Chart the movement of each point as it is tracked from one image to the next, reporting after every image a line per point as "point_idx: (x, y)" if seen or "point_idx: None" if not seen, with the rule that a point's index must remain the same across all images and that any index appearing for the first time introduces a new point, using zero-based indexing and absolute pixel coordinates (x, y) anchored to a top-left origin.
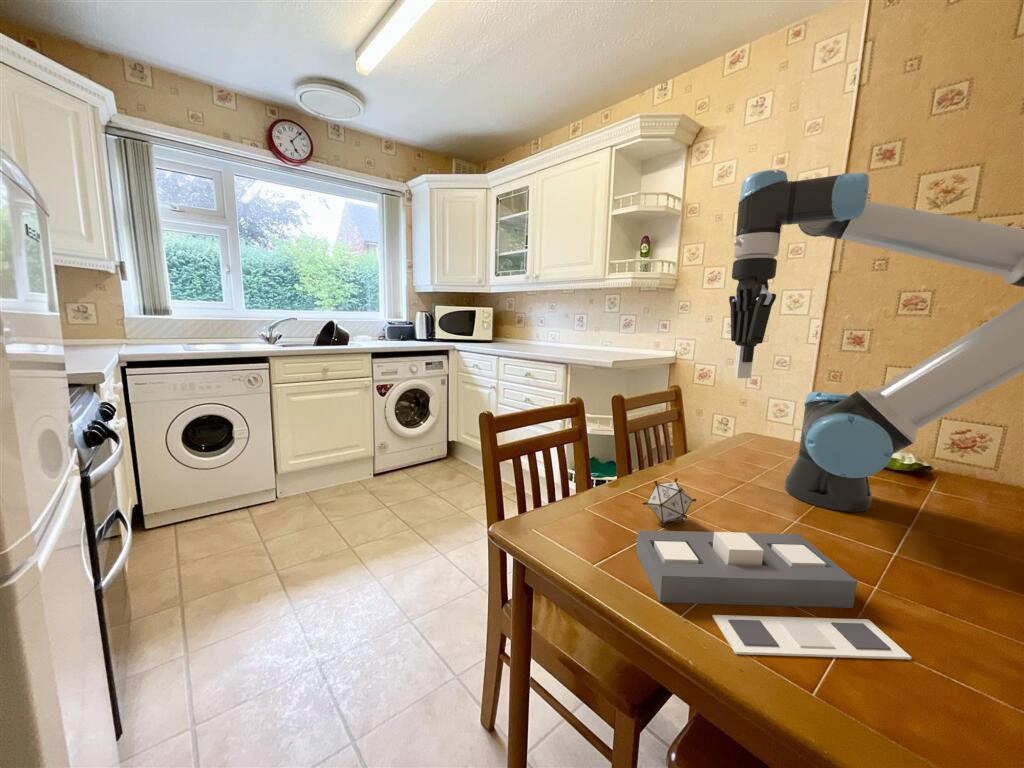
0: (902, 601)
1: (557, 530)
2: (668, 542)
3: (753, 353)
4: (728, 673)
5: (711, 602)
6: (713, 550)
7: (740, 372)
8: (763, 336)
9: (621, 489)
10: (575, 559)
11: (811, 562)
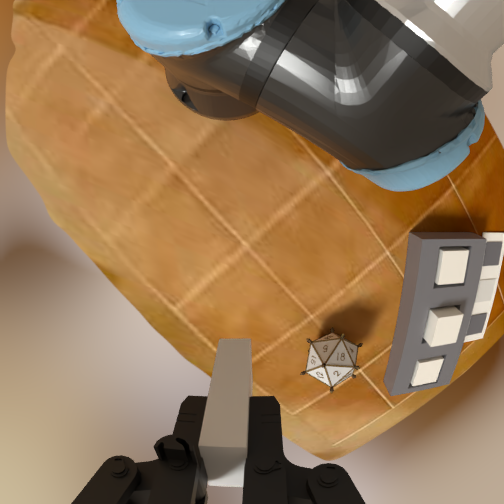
0: (468, 178)
1: (337, 431)
2: (416, 376)
3: (280, 428)
4: (487, 344)
5: None
6: None
7: (251, 388)
8: (360, 497)
9: None
10: (383, 418)
11: (466, 263)
